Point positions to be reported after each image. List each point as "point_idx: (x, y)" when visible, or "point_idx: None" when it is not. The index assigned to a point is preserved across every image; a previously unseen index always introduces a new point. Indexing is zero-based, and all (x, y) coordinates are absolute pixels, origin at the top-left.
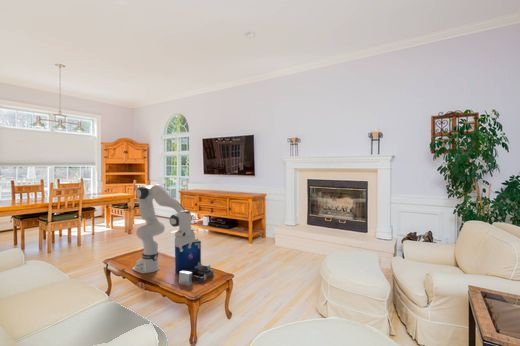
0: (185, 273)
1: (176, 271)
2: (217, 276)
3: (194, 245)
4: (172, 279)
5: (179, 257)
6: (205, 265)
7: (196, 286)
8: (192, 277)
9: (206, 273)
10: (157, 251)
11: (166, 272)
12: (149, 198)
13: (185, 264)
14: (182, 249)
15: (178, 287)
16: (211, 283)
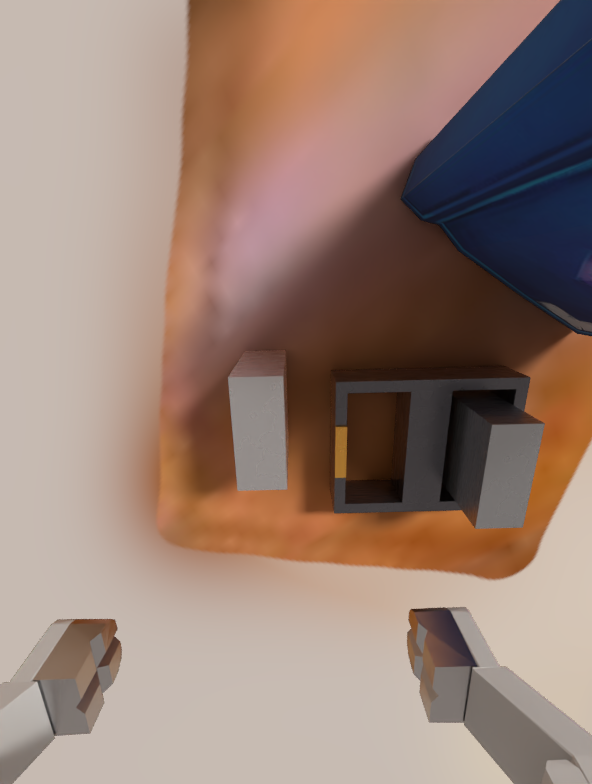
0: (234, 452)
1: (413, 170)
2: None
3: None
4: (284, 238)
5: (500, 160)
6: (487, 501)
7: None
8: (333, 424)
9: (425, 496)
10: None
11: (398, 32)
12: None
13: (499, 241)
14: (58, 732)
15: (195, 389)
16: (353, 540)
